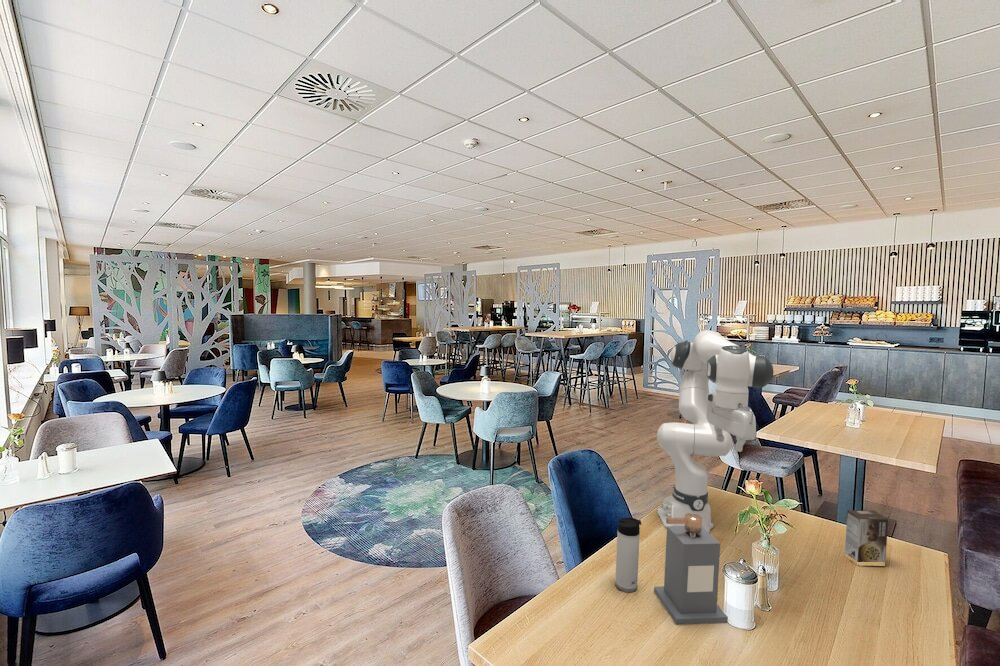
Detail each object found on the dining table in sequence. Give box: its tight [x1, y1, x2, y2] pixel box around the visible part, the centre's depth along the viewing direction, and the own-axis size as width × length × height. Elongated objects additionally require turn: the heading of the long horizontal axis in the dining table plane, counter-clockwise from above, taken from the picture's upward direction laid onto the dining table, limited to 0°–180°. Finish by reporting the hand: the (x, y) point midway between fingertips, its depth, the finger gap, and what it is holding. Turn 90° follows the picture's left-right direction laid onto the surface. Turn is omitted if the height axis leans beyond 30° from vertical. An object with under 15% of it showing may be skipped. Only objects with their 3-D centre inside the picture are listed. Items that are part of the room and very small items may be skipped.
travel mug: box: [614, 517, 642, 593], centre depth 138 cm, size 6×7×20 cm
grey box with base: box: [653, 526, 729, 625], centre depth 129 cm, size 14×14×20 cm
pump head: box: [666, 513, 702, 537], centre depth 129 cm, size 4×10×20 cm, turn 95°
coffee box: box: [844, 509, 889, 563], centre depth 155 cm, size 9×6×16 cm
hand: (728, 445), depth 142 cm, fingers open, 8 cm apart
